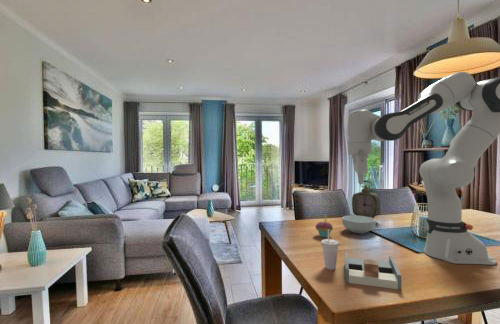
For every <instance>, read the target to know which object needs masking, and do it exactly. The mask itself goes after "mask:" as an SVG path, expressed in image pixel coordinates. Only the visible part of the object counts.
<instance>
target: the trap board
mask: <svg viewBox="0 0 500 324" xmlns="http://www.w3.org/2000/svg"><path fill="white" fill-rule="evenodd" d="M344 254H345V256H344V257H345V258H344V259H345V260H344V261H345V264H344V265H345V283H346V284H353V285H354V284H355V285H361V286H369V287H375V288H376V287H379V288H382V289H383V288H386V289H393V290H399V291H400V290H402V274H401V271H400V270H399V268H398V265H397V263H396V261H395V259H394V256H393V255H389V256H388V260H379V259H376V260H377V262H378V265H379V278H378V277H369V276H365V274H364V259H365V258H362V257H361V258H360V257H359V258H358V257H350V256H349V251H345V253H344ZM369 260H373V259H371V258H369Z"/></svg>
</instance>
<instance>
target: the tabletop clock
mask: <svg viewBox="0 0 500 324" xmlns="http://www.w3.org/2000/svg"><path fill="white" fill-rule="evenodd" d="M363 183H369V184H370V185H369V186H367V185H362V184H359V186H360V187H362V189H361V190H360V191H358V192H356V193H354V194H352V198H351V209H352V213H353V216H366V217H370V218H373V219H375V217H377V216H378V215H379V213H380V210H381V199H380V195H379V194H378V193H377V192H372V191H371V189H370V188H371V187H372V186H373V184H372V182H371V181H369V180H363Z"/></svg>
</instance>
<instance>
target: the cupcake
mask: <svg viewBox="0 0 500 324" xmlns="http://www.w3.org/2000/svg"><path fill="white" fill-rule="evenodd" d="M327 218H328V216H327V214H325V216H324V221H320V222H317V223H316V225H315V230H317V232H318V234H319V236H320V237H321V238H328V230H329V237H330V236H331V232H332V231H333V229H334V227H333V225H332V223H329V222H327Z"/></svg>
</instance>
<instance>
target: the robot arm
mask: <svg viewBox="0 0 500 324" xmlns="http://www.w3.org/2000/svg"><path fill="white" fill-rule="evenodd" d="M453 105H455V106H456V107H457V108H458V109H460V110H462V111H467V112H472V115H471V117H470V119H469V120H468V121H467V122H466V123H465V124H464V126H462V128H461V129H460V130H459V131H458V132H457V133H456V134H455V136H453V138H452V139H451V140H450V142H449V148H448V150H447V152H446V153H445V155H444V156H442V158H431V159H429V160H426V161H424V162H422V164H421V165H420V167H419V170H418V171H419V174H420V177H421V179H422V182H423V185H424V190H425V195H426V200H427V218H426V221H425V222H426V223H425V224H426V225H425V228H426V232H427V233H426V240H425V241H426V242H425V245H424V248H423V253H424V254H426V255H428V256H430V257H432V258H435V259H439V260H442V261H445V262H447V263H450V264H458V265H459V264H460V265H461V264H463V265H493V266H495V265H497V259H496V258H495V257H494V256H493V255H491V254H489V253H488V248H487V245H486V244H485V243H484V242H483V241H482V240H480V239H479V238H477V237H476V236H475V235H474V234H472V233H470V232H469V231H472V230H473V229H474V227H473V225H472V224H469V223H466V222H465V221H463V220H462V217H463V216H462V214H463V213H462V200H461V198H460V197H459V195H458V194H457V191H456V190H457V189H456V188H462V187H463V188H464V187H466V186H469V185H470V184H472V182H473V180H474V178H475V167H476V165H477V164H478V161H479V159H480V157H481V156H483V154H484V153H485V152H486V151H487V149H488V148H489V147H490V146H491V145H492V144H493V143H494V141H496V140H497V138H498V137H499V135H500V76H499V77H498V76H497V77H494V78H489V79H484V80H481V81H480V80H479V81H475V78H474V77H473V75H471V74H470V73H469V72H466V71H458V72H455V73H453V74H450V75H448V76H445V77H443V78H441V79H439V80H437V81H435V82H434V83H432V84H430V85H428V87H426V88H425V89H423V90H422V91H421V92H420V93H419V94H418V97H417V101H416V102H413V103H412V104H410V105H409V106H408V107H406V108H404V109H402V110H401V111H395V112H394V111H393V112H390V113H386V114H383V115H382V116H381V115H378V114H375V113H374V112H371V111H370V110H369V109H360V110H359V109H358V110H356V111H353V112H352V113H350V114H349V116H348V119H347V134H348V142H347V144H348V147H347V149H348V153H347V154H348V155H351V159H352V166H353V170H354V171H355V173H357V174H356V175H357V183H358V184H359V185H360V184H361V185H363V184H364V182H363V181H364V176H365V175H367V174H368V171H369V169H368V166H369V165H368V158H369V155H371V154H373V150H372V148H373V147H372V141H377V142H386V141H390V142H391V141H397V140H398V139H400V138H402V137H403V136H404V135H405V134H406V132H407V131H408V130H409V128H410V127H412V125H414V124H416V123H418V122H419V121H421V120H422V119H424V118H425V117H427V116H429V115H432V114H433V115H434V114H436V113H439V112H442V111H444V110H446V109H448V108H450V107H452V106H453ZM468 230H469V231H468Z"/></svg>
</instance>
